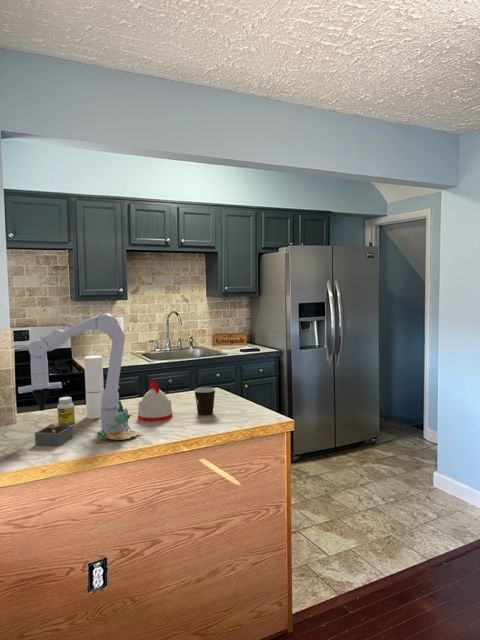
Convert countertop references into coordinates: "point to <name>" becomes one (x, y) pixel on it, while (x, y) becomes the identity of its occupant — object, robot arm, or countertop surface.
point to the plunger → (53, 427)
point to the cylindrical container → (93, 385)
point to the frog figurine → (120, 418)
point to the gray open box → (53, 436)
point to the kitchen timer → (154, 405)
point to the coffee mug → (205, 400)
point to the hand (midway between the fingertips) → (41, 410)
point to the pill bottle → (66, 412)
